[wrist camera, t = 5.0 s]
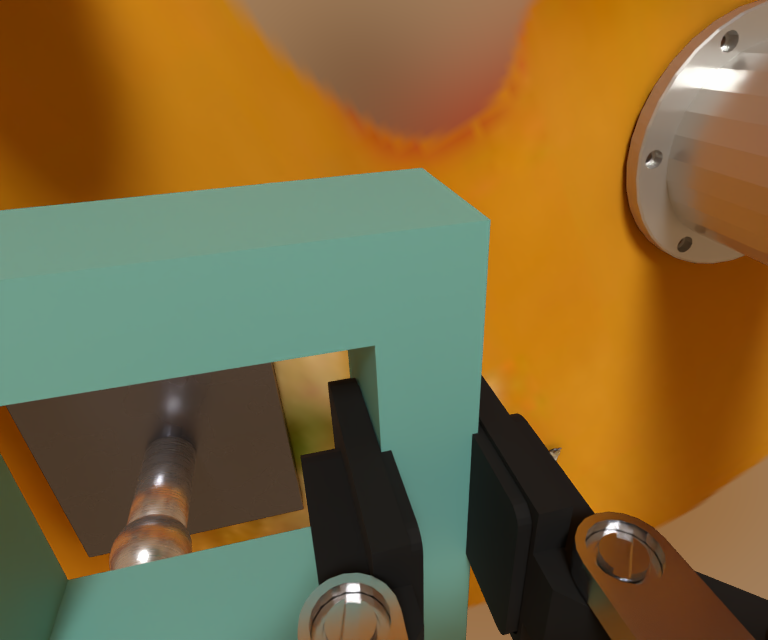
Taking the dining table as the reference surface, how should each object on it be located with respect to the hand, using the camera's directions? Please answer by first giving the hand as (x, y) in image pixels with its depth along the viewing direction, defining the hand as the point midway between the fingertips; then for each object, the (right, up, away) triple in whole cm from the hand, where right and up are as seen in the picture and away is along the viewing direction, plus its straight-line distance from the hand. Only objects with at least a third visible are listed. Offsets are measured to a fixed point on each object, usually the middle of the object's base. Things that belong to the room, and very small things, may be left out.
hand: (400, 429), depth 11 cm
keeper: (-12, -4, +17) cm, 21 cm away
